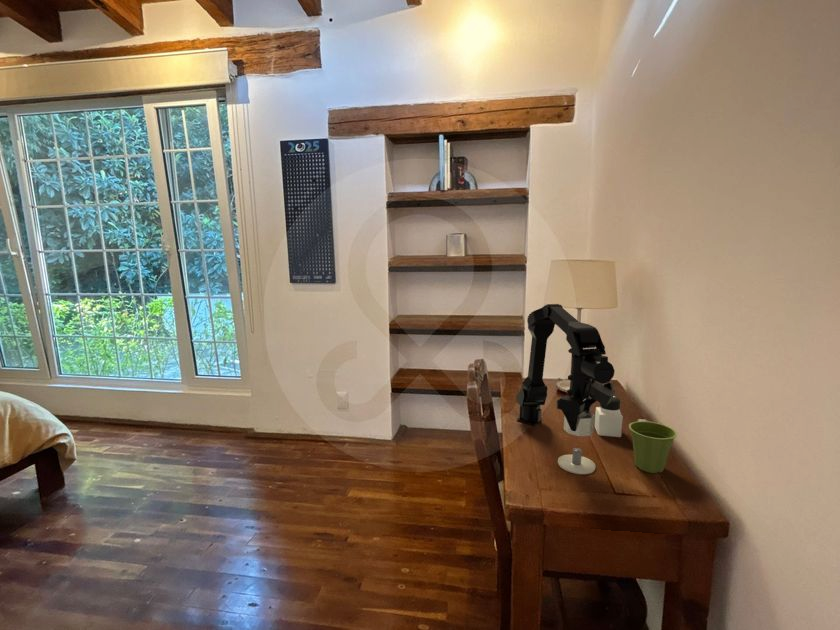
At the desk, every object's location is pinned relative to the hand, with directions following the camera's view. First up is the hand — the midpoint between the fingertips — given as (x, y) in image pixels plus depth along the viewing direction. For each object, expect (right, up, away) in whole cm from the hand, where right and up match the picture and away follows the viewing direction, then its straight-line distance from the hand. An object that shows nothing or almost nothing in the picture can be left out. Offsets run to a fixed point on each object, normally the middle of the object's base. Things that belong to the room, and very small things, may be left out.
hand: (578, 426), depth 124 cm
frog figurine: (+27, -9, +17) cm, 33 cm away
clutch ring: (0, -1, 0) cm, 1 cm away
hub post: (0, -11, +2) cm, 12 cm away
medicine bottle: (+18, -8, +23) cm, 30 cm away
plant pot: (+20, -12, +1) cm, 23 cm away
